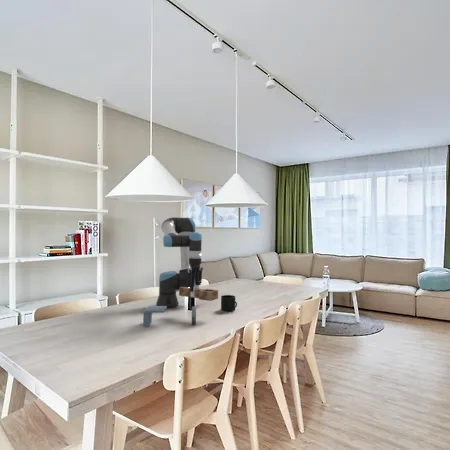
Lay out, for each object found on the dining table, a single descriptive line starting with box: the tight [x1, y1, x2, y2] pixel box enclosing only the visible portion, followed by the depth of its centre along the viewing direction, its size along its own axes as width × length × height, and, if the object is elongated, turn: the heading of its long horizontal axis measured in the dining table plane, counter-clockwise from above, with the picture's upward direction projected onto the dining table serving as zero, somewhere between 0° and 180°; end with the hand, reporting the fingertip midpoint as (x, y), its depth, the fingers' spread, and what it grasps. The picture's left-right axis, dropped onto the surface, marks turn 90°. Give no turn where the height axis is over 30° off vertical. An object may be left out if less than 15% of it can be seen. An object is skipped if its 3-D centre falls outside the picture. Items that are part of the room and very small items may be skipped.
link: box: [178, 287, 219, 302], centre depth 201 cm, size 25×8×5 cm, turn 58°
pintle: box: [191, 305, 197, 326], centre depth 184 cm, size 2×2×10 cm
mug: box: [220, 294, 238, 313], centre depth 217 cm, size 9×12×9 cm
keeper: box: [142, 305, 168, 328], centre depth 184 cm, size 11×11×9 cm
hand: (194, 296), depth 201 cm, fingers closed on link, 3 cm apart
